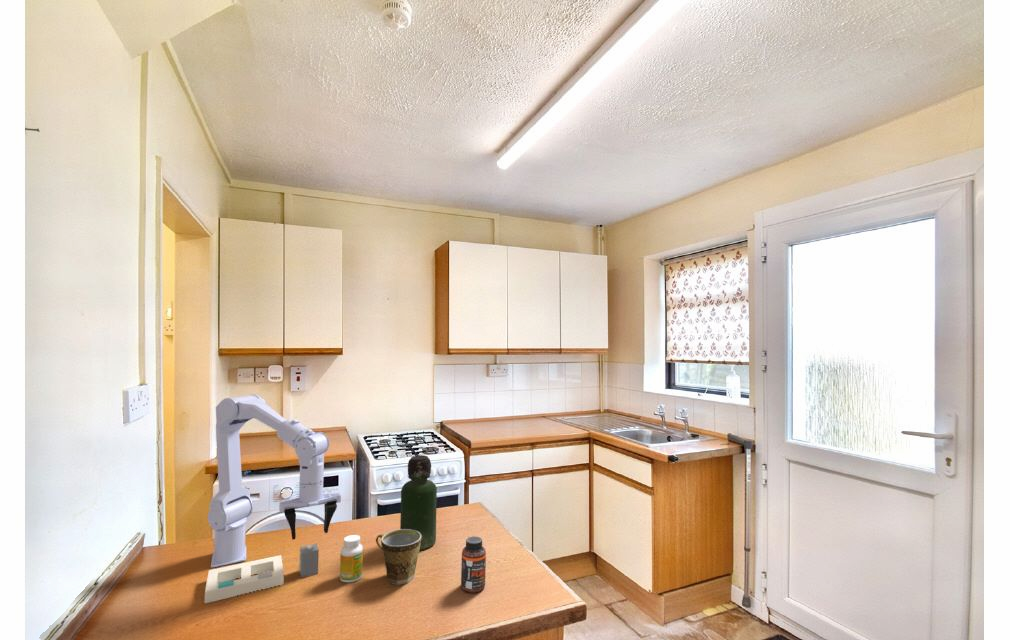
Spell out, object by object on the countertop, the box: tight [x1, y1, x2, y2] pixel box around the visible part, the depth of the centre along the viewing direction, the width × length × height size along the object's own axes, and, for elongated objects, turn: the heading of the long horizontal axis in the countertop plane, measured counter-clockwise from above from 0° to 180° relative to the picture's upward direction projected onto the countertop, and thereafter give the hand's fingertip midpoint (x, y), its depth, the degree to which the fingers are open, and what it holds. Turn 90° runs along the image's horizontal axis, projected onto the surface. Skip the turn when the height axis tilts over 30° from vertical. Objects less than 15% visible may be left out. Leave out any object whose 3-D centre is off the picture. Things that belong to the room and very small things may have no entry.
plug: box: [298, 543, 319, 578], centre depth 113 cm, size 4×4×6 cm
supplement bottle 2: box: [460, 536, 487, 594], centre depth 107 cm, size 6×6×11 cm
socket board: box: [204, 554, 285, 604], centre depth 108 cm, size 11×16×3 cm
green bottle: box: [399, 454, 438, 551], centre depth 131 cm, size 10×10×25 cm
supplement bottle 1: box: [339, 534, 364, 583], centre depth 111 cm, size 5×5×10 cm
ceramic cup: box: [375, 529, 421, 586], centre depth 112 cm, size 13×10×10 cm
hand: (309, 534), depth 114 cm, fingers open, 7 cm apart
